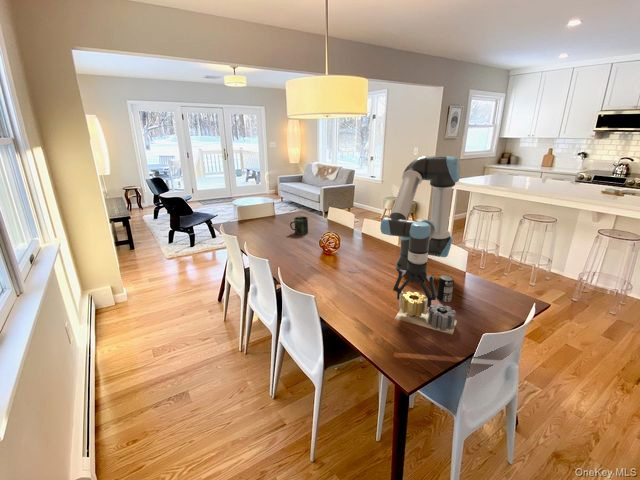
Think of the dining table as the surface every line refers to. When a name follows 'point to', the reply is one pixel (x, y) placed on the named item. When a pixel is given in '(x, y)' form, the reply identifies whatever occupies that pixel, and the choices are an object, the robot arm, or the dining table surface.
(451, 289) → the beverage can
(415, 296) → the brass gear
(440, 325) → the gear
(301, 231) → the mug
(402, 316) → the gear board
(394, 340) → the dining table surface
